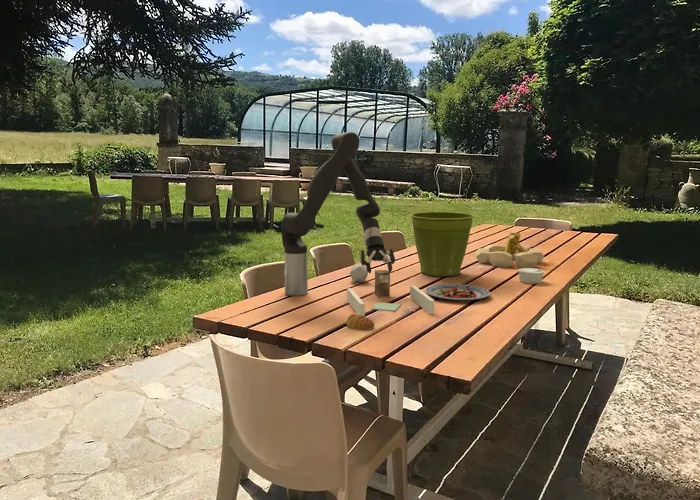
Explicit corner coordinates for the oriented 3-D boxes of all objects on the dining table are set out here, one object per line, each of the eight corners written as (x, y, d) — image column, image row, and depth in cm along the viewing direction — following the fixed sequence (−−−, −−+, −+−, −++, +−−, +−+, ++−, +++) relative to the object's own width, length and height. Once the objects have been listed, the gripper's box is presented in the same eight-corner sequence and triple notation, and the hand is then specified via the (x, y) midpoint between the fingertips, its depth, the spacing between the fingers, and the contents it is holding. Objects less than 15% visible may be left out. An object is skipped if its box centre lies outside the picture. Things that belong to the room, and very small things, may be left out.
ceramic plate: (497, 293, 226) (497, 286, 226) (478, 307, 204) (478, 300, 204) (439, 286, 239) (439, 279, 239) (415, 298, 217) (415, 291, 217)
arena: (360, 318, 190) (360, 304, 189) (347, 300, 213) (347, 288, 212) (434, 314, 195) (434, 300, 194) (413, 297, 218) (414, 285, 217)
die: (361, 286, 241) (373, 267, 243) (345, 276, 242) (356, 257, 244) (361, 288, 249) (372, 270, 251) (345, 278, 250) (356, 261, 252)
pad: (371, 309, 201) (371, 308, 201) (378, 303, 209) (378, 302, 209) (394, 311, 198) (394, 310, 198) (400, 305, 207) (400, 304, 206)
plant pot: (417, 265, 285) (418, 211, 280) (474, 269, 275) (477, 213, 270) (403, 277, 257) (404, 216, 252) (467, 281, 247) (469, 218, 243)
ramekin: (545, 284, 242) (545, 273, 241) (518, 283, 244) (519, 272, 243) (541, 279, 252) (542, 268, 252) (516, 278, 255) (517, 267, 254)
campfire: (533, 271, 272) (535, 237, 269) (467, 264, 289) (469, 233, 286) (548, 260, 301) (550, 230, 298) (488, 255, 319) (489, 226, 316)
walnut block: (377, 297, 219) (378, 273, 217) (374, 294, 224) (375, 270, 222) (389, 296, 220) (390, 272, 218) (386, 293, 225) (386, 270, 223)
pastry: (378, 327, 180) (378, 316, 179) (367, 332, 174) (367, 321, 174) (355, 322, 185) (355, 311, 185) (343, 327, 180) (343, 316, 179)
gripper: (358, 235, 229) (364, 267, 220) (391, 234, 232) (398, 266, 222) (356, 246, 235) (362, 277, 226) (388, 244, 238) (395, 276, 228)
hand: (380, 271), depth 224 cm, fingers open, 8 cm apart
